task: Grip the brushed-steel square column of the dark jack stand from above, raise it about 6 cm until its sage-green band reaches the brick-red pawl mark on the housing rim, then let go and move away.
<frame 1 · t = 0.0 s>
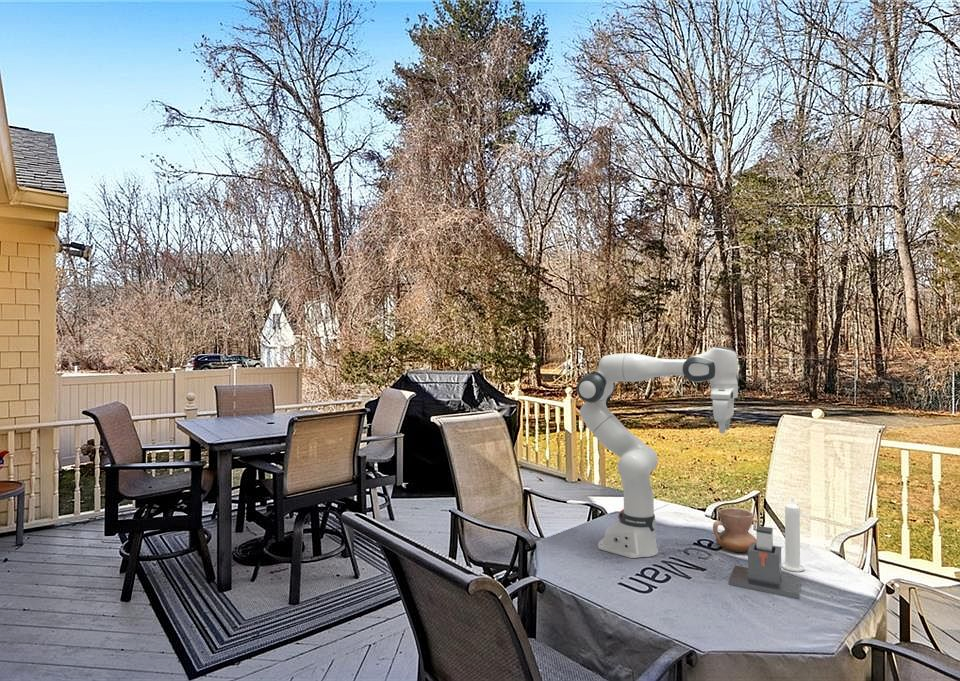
hand: (724, 431, 201), 48 cm above the table, tool pointing down, fingers open, 8 cm apart
stand housing: (764, 583, 187), on the table
candle: (792, 568, 199), on the table
ceramic jug: (735, 549, 218), on the table
column: (764, 553, 187), point 10 cm above the table, slide at 0.0 cm
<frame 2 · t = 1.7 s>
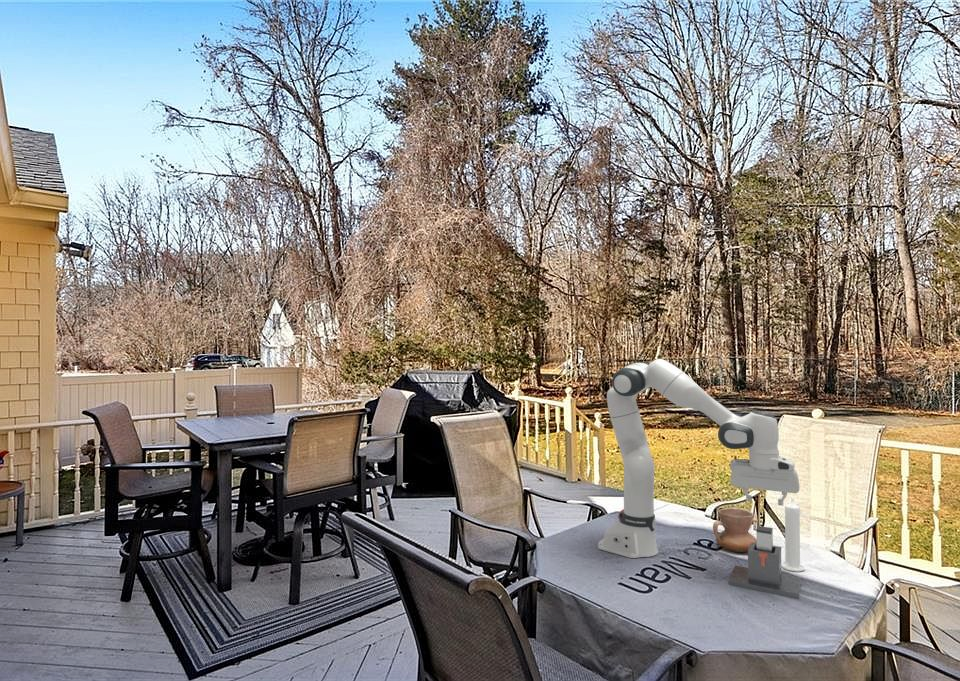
hand: (764, 503, 187), 26 cm above the table, tool pointing down, fingers open, 8 cm apart
nothing on the table moved.
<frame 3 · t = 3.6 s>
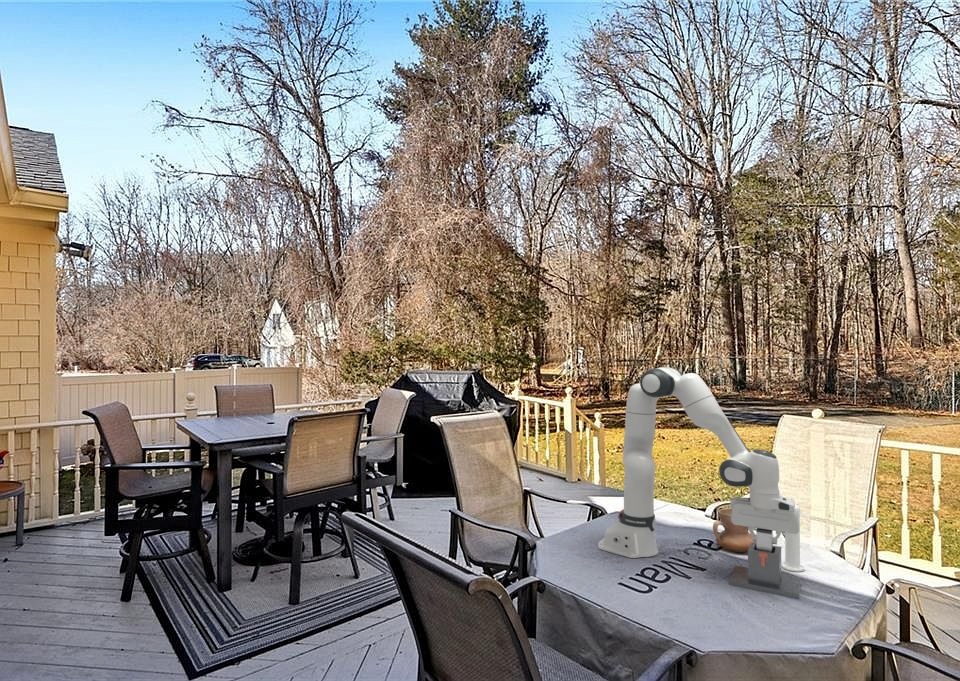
hand: (764, 542, 187), 14 cm above the table, tool pointing down, fingers closed on column, 4 cm apart
column: (764, 553, 187), point 10 cm above the table, slide at 0.0 cm, touching gripper
everything else where it was.
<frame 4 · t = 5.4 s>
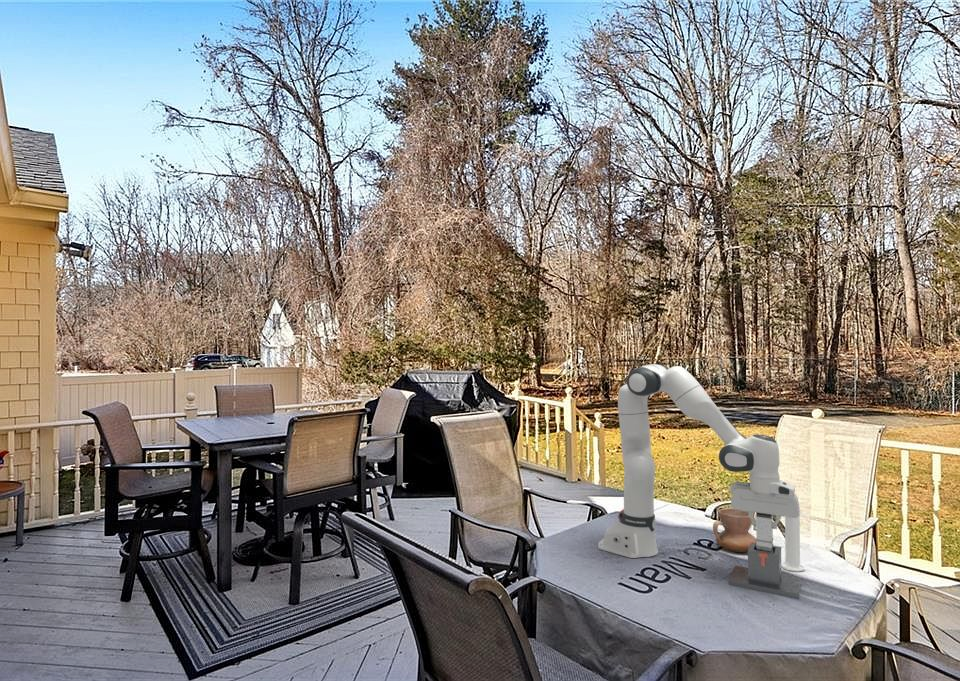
hand: (764, 526, 187), 19 cm above the table, tool pointing down, fingers closed on column, 4 cm apart
column: (764, 537, 187), point 15 cm above the table, slide at 5.1 cm, touching gripper
everything else where it was.
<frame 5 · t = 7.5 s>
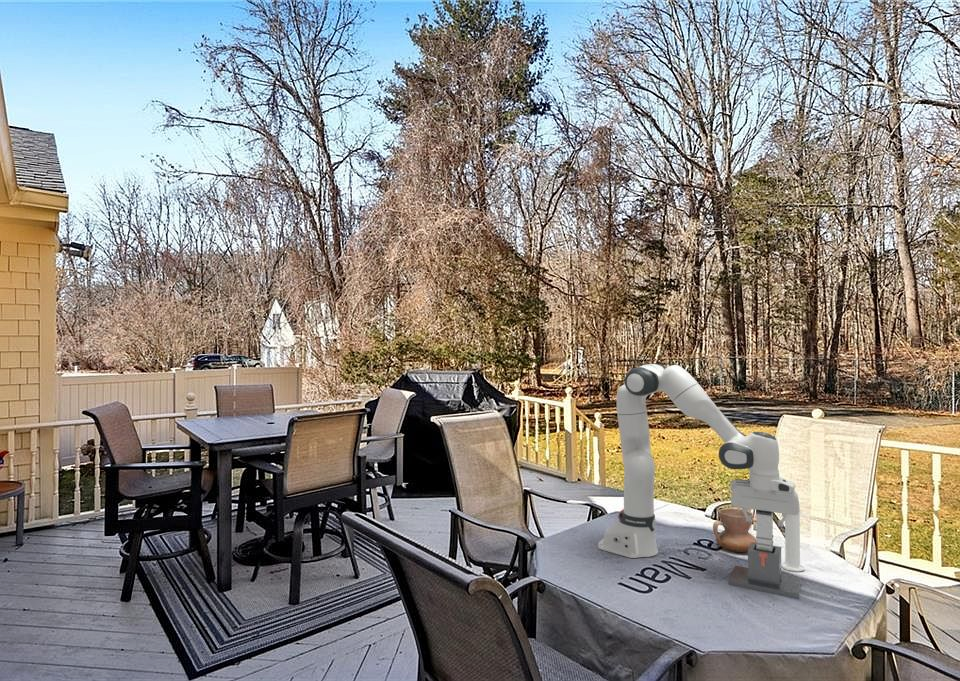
hand: (764, 523, 187), 20 cm above the table, tool pointing down, fingers open, 8 cm apart
column: (764, 535, 187), point 16 cm above the table, slide at 5.9 cm
everything else where it was.
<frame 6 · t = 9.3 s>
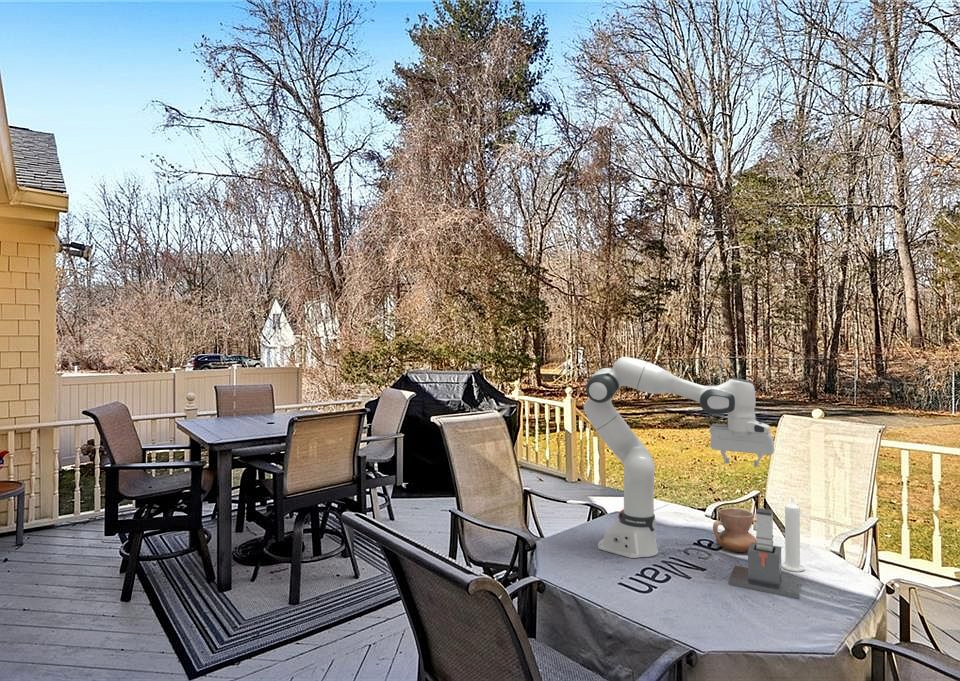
hand: (741, 464, 198), 37 cm above the table, tool pointing down, fingers open, 8 cm apart
nothing on the table moved.
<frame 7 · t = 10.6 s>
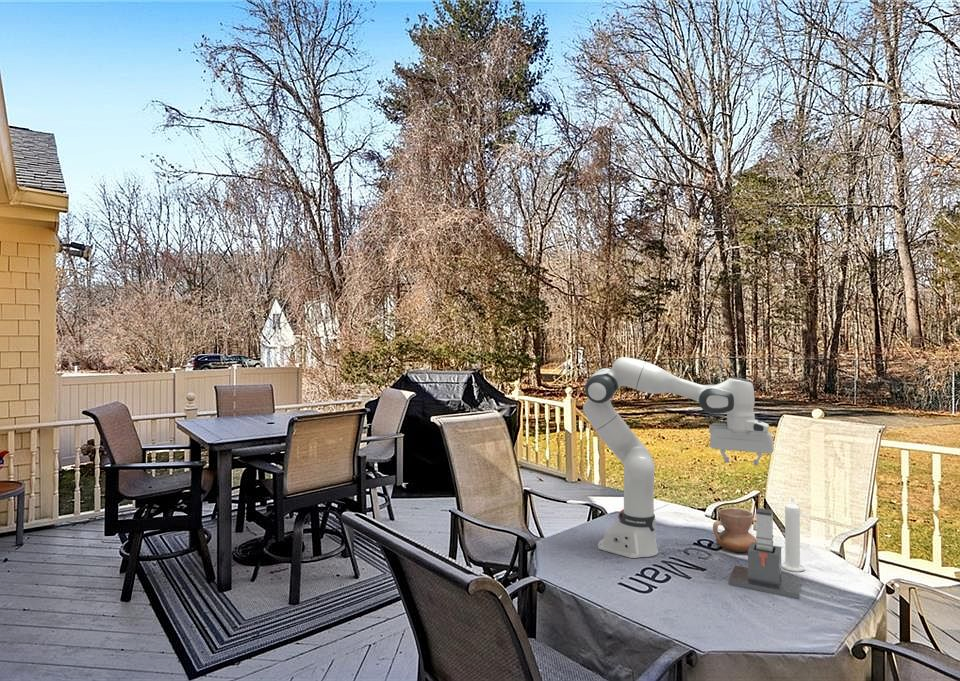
hand: (741, 463, 198), 37 cm above the table, tool pointing down, fingers open, 8 cm apart
nothing on the table moved.
at the end: column slide at 5.9 cm; the gripper is holding nothing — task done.
